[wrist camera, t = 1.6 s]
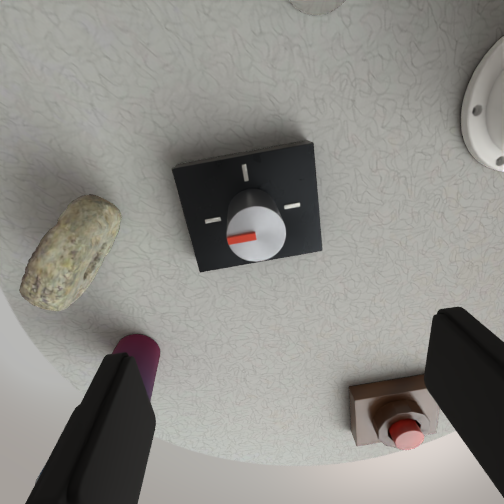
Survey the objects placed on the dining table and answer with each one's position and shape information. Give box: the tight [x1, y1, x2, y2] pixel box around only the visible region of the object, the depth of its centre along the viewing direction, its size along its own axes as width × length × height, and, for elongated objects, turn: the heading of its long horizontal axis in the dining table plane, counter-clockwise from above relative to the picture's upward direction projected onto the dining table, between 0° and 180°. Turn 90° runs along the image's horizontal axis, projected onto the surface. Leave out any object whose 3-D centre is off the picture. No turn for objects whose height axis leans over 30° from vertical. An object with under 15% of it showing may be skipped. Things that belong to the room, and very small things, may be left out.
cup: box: [35, 334, 160, 484], centre depth 30 cm, size 7×7×15 cm
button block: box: [349, 374, 439, 448], centre depth 41 cm, size 11×9×4 cm
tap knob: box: [227, 189, 286, 262], centre depth 26 cm, size 4×4×6 cm
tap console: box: [172, 140, 322, 272], centre depth 29 cm, size 12×10×3 cm
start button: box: [389, 418, 424, 450], centre depth 39 cm, size 4×4×2 cm
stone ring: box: [19, 194, 122, 311], centre depth 26 cm, size 10×4×10 cm, turn 146°
